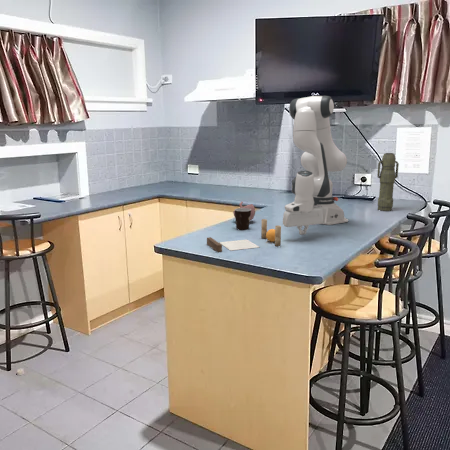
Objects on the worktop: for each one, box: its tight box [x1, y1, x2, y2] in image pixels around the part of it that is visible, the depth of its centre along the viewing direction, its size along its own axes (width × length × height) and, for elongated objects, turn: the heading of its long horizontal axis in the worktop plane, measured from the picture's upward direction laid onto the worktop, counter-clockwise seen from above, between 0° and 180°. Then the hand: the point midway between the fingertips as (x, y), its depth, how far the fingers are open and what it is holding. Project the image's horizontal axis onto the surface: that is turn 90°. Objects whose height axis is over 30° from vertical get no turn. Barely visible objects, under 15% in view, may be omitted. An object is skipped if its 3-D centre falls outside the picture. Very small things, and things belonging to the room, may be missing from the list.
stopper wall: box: [206, 236, 223, 253], centre depth 207 cm, size 2×14×3 cm, turn 21°
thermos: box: [376, 152, 400, 212], centre depth 286 cm, size 9×12×35 cm
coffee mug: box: [234, 207, 251, 231], centre depth 240 cm, size 12×9×10 cm
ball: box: [266, 228, 275, 243], centre depth 217 cm, size 6×6×6 cm
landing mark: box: [218, 239, 260, 252], centre depth 212 cm, size 14×14×1 cm
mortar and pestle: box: [232, 201, 256, 222], centre depth 256 cm, size 12×12×12 cm
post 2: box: [274, 225, 282, 247], centre depth 210 cm, size 3×3×9 cm
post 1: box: [260, 218, 268, 240], centre depth 223 cm, size 3×3×9 cm
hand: (302, 234), depth 223 cm, fingers closed
